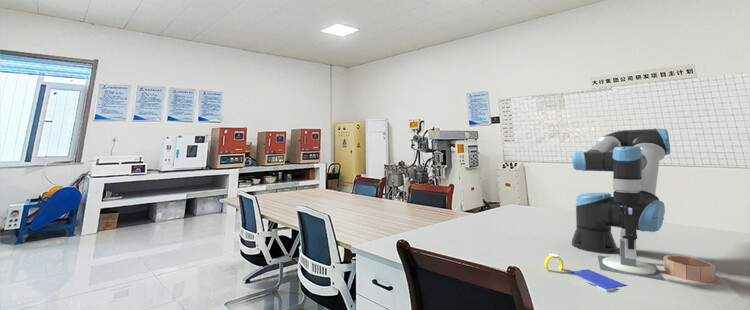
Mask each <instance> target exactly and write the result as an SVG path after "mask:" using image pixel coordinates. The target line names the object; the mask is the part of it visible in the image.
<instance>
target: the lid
mask: <svg viewBox="0 0 750 310" xmlns="http://www.w3.org/2000/svg"><path fill="white" fill-rule="evenodd" d="M606 257H607V258H604V259H603V260H602V263H603V264H604V265H605V266H607V267H609V268H611V269H614V270H617V271H620V272H624V273H629V274H636V275H653V274H655V273H656V269H655V267H653V266H651V265H649V264H647V263H648V262H646V263H644V261H640V260H637V259H636V260H635V259H629V258H625V239H620V238H619V257H617V256H606Z"/></svg>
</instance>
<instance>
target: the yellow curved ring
mask: <svg viewBox="0 0 750 310" xmlns="http://www.w3.org/2000/svg"><path fill="white" fill-rule="evenodd" d="M551 259H558V260H559V266H558V268H557V269H558V270H559V271H562V270H563V269H564V261H563V259H562V258H561V257H559V254H556V253H549V254H548V256H546V257H545V259H544V263H543V265H544V268H545V270H546V271H547V272H548V273H550V272H551V270H550V269H549V267H548V263H549V261H550V260H551Z"/></svg>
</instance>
